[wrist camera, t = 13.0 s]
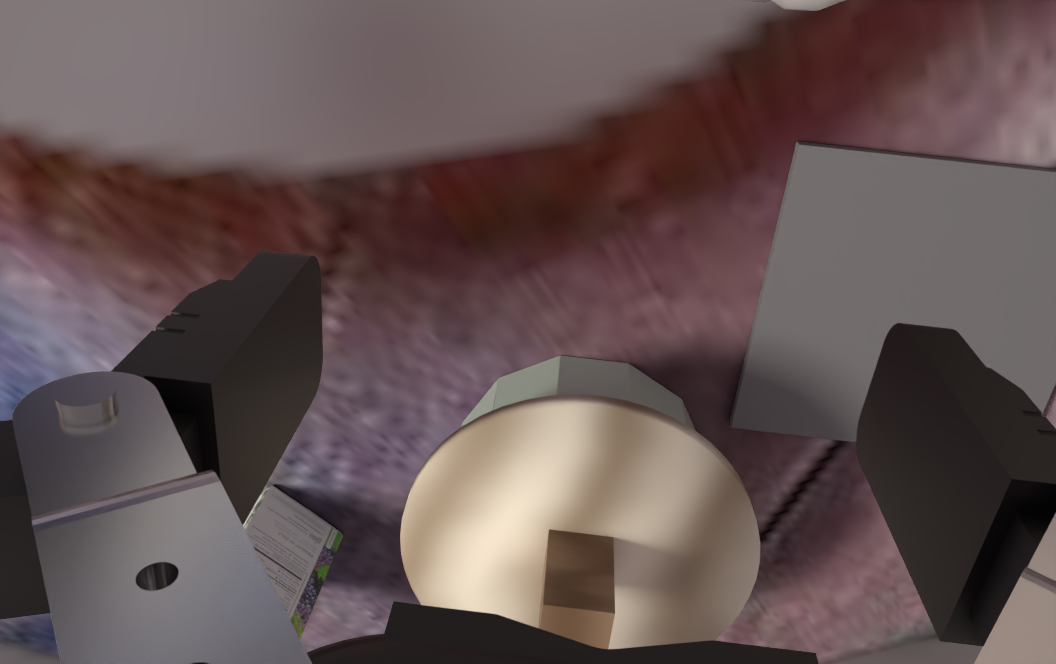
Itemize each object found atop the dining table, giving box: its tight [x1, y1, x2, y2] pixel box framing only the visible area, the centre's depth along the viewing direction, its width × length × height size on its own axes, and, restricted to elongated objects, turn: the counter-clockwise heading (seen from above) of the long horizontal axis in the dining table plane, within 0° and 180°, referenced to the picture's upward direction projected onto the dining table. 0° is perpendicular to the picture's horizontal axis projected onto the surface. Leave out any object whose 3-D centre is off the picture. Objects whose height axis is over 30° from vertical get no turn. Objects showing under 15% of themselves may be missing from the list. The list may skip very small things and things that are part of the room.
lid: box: [400, 394, 760, 649], centre depth 41 cm, size 18×18×6 cm
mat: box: [730, 141, 1056, 442], centre depth 44 cm, size 16×16×1 cm
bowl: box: [461, 355, 696, 431], centre depth 47 cm, size 14×14×7 cm
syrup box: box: [243, 485, 343, 638], centre depth 48 cm, size 6×6×14 cm
